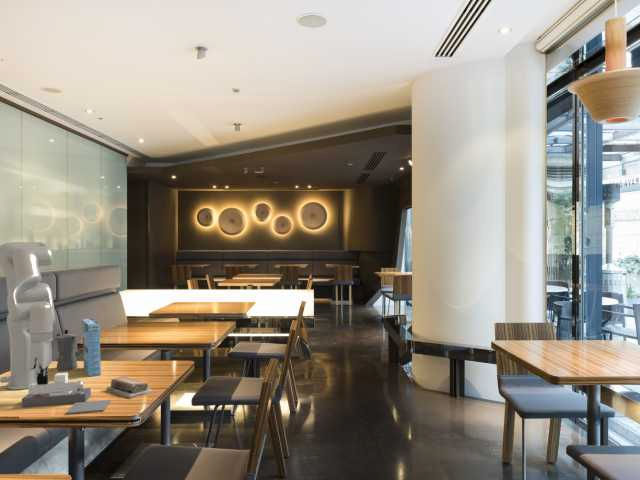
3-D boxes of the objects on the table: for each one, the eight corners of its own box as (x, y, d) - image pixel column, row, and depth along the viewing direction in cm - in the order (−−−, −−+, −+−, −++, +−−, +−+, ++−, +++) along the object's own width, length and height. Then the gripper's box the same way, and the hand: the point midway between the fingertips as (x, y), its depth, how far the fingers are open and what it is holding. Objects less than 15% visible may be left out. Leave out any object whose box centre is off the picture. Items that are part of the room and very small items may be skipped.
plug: (49, 404, 181) (48, 376, 181) (55, 398, 187) (54, 372, 187) (68, 402, 182) (68, 375, 182) (73, 397, 188) (73, 371, 188)
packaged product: (105, 379, 197) (129, 373, 205) (105, 391, 197) (129, 385, 204) (130, 386, 185) (153, 380, 193) (130, 399, 185) (154, 393, 193)
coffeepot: (84, 367, 235) (83, 329, 235) (64, 372, 227) (63, 332, 227) (67, 363, 244) (66, 326, 244) (47, 368, 236) (46, 329, 236)
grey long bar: (28, 394, 179) (27, 386, 179) (30, 393, 181) (30, 384, 181) (82, 390, 182) (82, 382, 182) (83, 388, 184) (83, 380, 184)
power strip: (21, 407, 178) (21, 397, 178) (30, 400, 186) (30, 390, 186) (85, 402, 182) (84, 392, 182) (90, 395, 190) (90, 386, 190)
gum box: (101, 375, 220) (99, 323, 221) (88, 377, 218) (87, 324, 218) (94, 366, 237) (93, 318, 237) (82, 368, 234) (81, 319, 234)
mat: (65, 414, 169) (65, 412, 169) (75, 404, 180) (75, 402, 180) (103, 411, 172) (103, 409, 172) (110, 401, 182) (110, 399, 182)
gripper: (37, 334, 193) (38, 381, 193) (22, 341, 178) (23, 393, 178) (58, 332, 194) (59, 380, 194) (45, 340, 180) (46, 391, 180)
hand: (42, 386), depth 186 cm, fingers closed
